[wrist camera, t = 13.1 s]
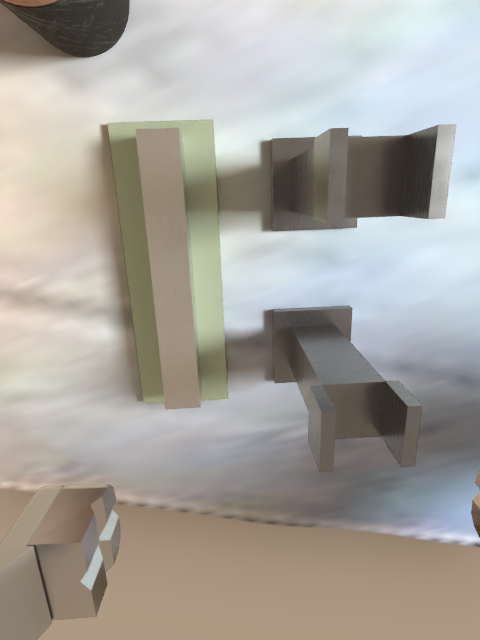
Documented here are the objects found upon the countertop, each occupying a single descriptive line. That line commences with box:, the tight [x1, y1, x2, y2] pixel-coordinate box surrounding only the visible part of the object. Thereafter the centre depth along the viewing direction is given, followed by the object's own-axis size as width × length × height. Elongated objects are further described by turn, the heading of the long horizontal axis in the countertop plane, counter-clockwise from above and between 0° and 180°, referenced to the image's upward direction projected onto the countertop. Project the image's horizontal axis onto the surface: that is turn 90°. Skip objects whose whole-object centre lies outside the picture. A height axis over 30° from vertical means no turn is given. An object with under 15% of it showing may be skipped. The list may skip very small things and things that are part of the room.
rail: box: [135, 128, 202, 409], centre depth 31 cm, size 3×22×3 cm, turn 2°
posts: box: [271, 124, 456, 472], centre depth 27 cm, size 7×21×15 cm, turn 2°
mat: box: [107, 120, 228, 404], centre depth 33 cm, size 8×24×1 cm, turn 2°
